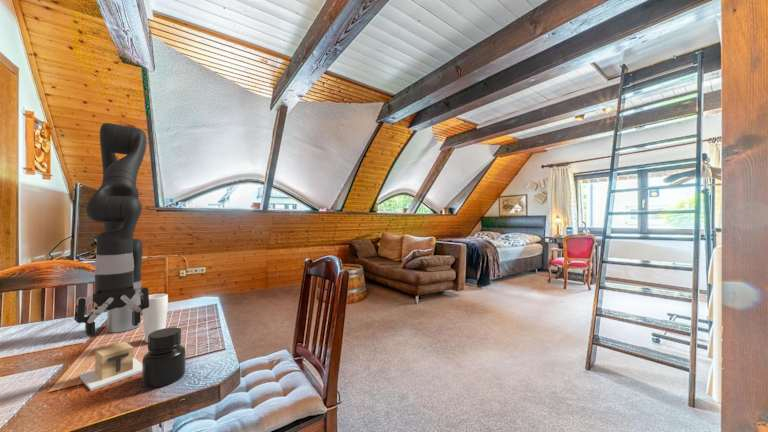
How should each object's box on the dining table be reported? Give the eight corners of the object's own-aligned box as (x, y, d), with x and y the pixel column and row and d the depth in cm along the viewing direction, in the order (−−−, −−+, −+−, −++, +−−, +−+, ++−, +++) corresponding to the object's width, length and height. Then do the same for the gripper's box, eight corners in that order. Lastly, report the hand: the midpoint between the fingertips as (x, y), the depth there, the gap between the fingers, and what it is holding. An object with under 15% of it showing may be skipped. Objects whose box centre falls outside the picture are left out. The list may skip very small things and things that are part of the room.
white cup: (153, 345, 91) (153, 299, 91) (136, 343, 92) (136, 298, 92) (172, 337, 97) (173, 294, 98) (156, 335, 99) (157, 292, 99)
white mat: (78, 376, 73) (78, 374, 73) (132, 358, 83) (132, 356, 83) (90, 391, 67) (90, 388, 67) (147, 370, 77) (147, 367, 77)
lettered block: (124, 362, 79) (124, 341, 79) (133, 369, 76) (133, 347, 76) (94, 372, 74) (95, 349, 74) (102, 380, 71) (102, 356, 71)
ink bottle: (181, 365, 80) (182, 322, 80) (191, 376, 74) (192, 331, 74) (136, 380, 72) (136, 333, 72) (144, 394, 66) (144, 343, 66)
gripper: (143, 264, 83) (142, 319, 83) (72, 273, 71) (71, 336, 71) (153, 267, 79) (152, 325, 79) (80, 277, 67) (79, 344, 67)
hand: (114, 330), depth 75 cm, fingers open, 8 cm apart
